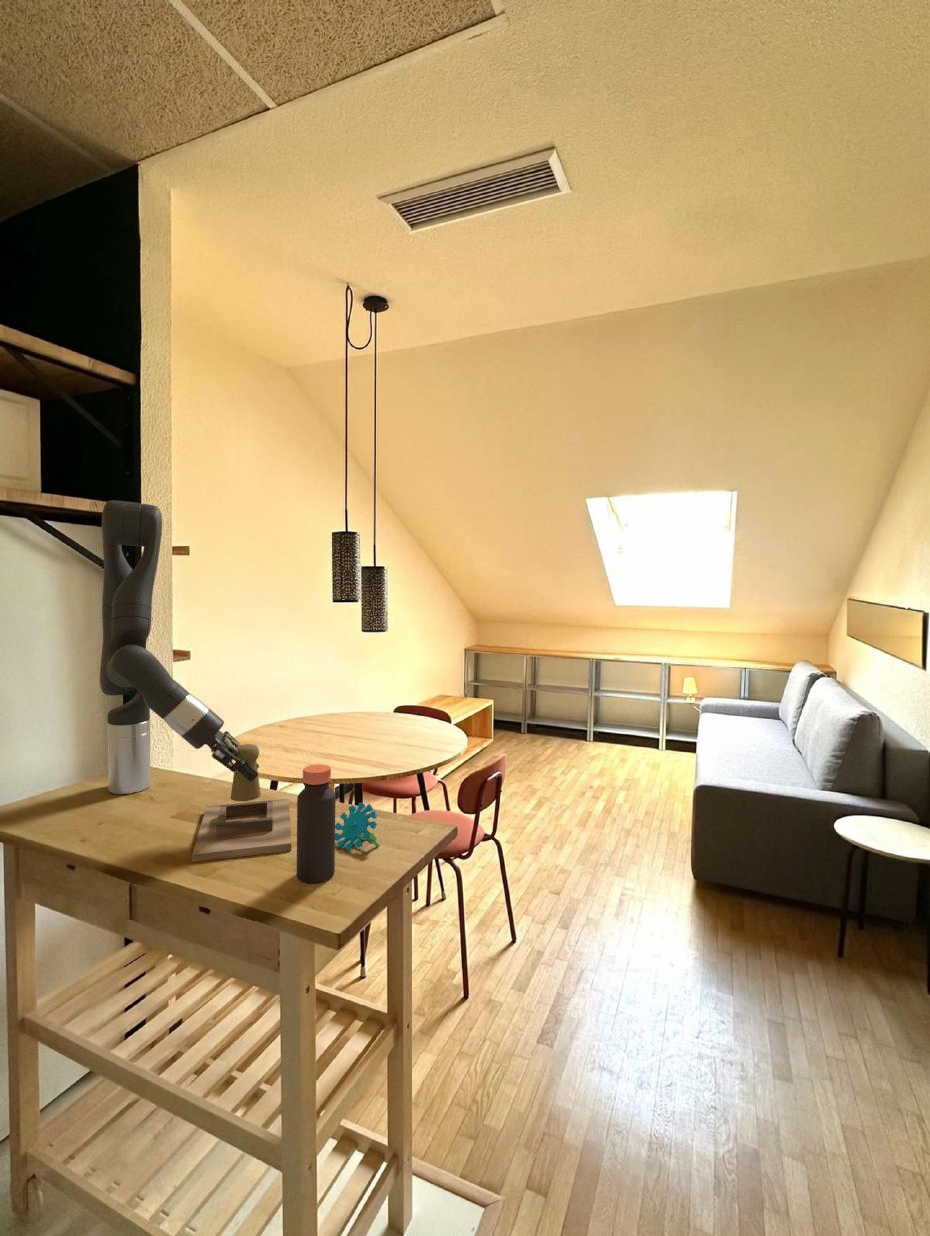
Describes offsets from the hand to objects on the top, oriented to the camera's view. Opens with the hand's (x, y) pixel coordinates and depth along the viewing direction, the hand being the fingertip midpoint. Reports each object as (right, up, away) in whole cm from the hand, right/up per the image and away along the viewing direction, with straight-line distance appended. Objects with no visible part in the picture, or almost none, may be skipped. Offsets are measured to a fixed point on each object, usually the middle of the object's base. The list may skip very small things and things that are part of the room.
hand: (255, 773), depth 122 cm
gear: (+23, -14, -5) cm, 27 cm away
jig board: (-2, -12, 0) cm, 12 cm away
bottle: (+17, -14, -17) cm, 28 cm away
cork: (-2, -5, -1) cm, 5 cm away
